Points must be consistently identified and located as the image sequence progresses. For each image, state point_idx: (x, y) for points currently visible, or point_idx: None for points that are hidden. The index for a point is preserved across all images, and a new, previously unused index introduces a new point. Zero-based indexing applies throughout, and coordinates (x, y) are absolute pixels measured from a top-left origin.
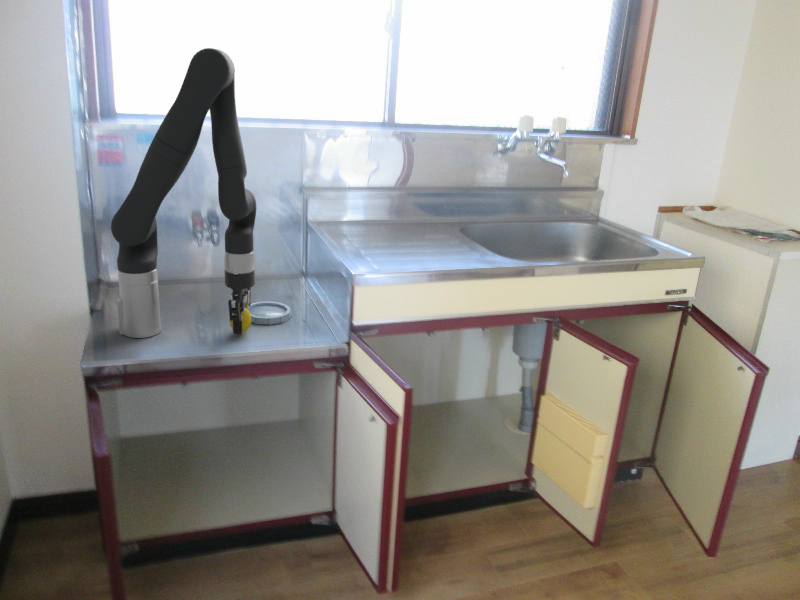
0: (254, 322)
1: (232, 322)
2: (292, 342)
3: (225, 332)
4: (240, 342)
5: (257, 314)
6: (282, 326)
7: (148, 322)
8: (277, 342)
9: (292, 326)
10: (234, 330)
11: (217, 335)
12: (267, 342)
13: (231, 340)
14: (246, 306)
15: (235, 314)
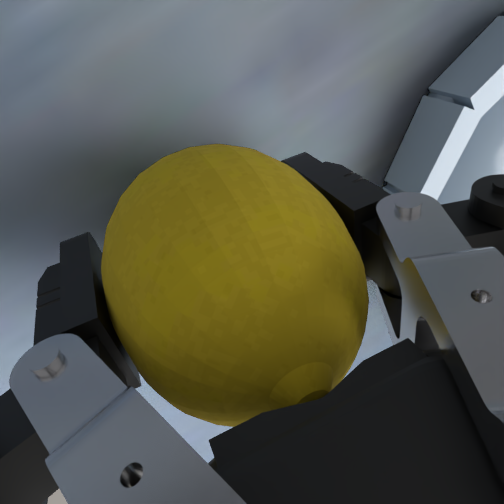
0: (391, 174)
1: (105, 259)
2: (209, 455)
3: (145, 58)
4: (32, 297)
5: (493, 143)
6: (371, 317)
7: None
8: (174, 424)
9: (379, 346)
10: (41, 288)
11: (21, 15)
12: (146, 399)
13: (14, 220)
14: (392, 340)
15: (147, 359)
